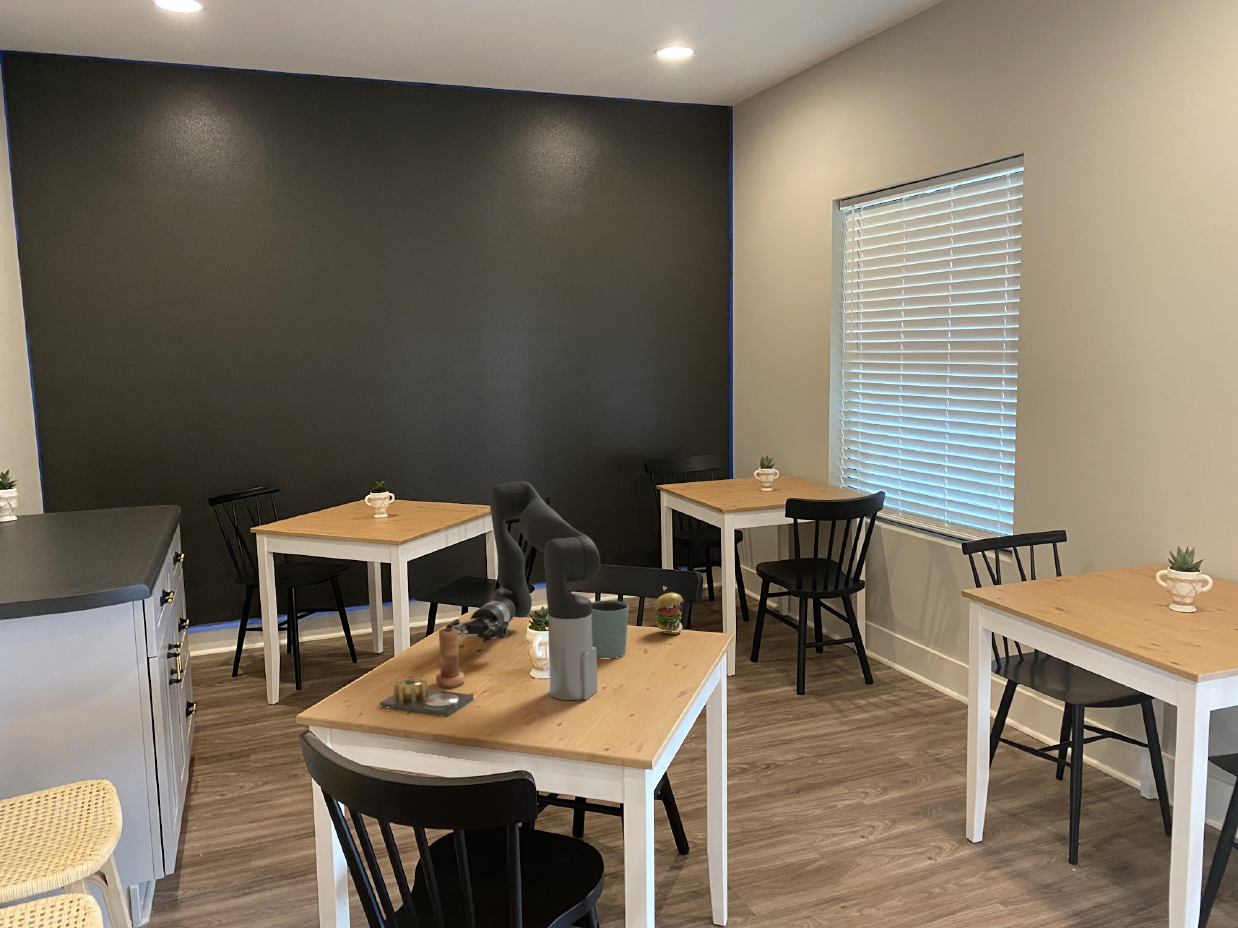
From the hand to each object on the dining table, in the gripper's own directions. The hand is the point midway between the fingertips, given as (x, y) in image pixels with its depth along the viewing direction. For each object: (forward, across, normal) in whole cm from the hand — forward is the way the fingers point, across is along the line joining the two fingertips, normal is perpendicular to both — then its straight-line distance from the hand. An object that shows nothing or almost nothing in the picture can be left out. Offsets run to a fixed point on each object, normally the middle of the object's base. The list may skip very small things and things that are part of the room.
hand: (466, 637), depth 210 cm
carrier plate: (+23, 0, +7) cm, 24 cm away
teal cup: (-15, +30, +8) cm, 34 cm away
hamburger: (-36, +42, +8) cm, 55 cm away
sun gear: (+22, -4, +7) cm, 24 cm away
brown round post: (+11, 0, +7) cm, 13 cm away
